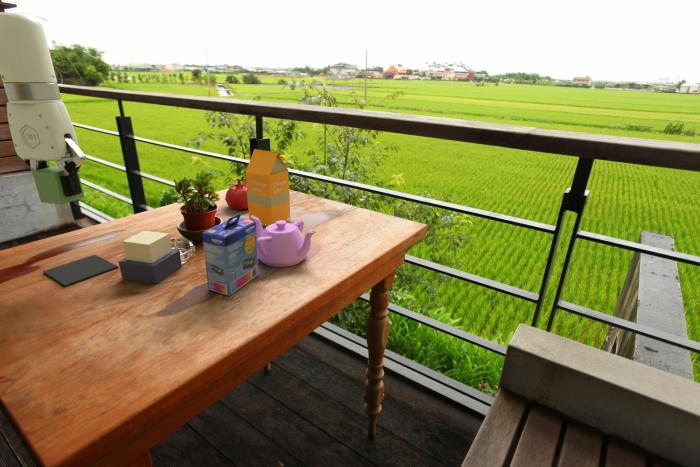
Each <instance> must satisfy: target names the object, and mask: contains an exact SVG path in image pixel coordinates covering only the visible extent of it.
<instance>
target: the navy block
mask: <svg viewBox="0 0 700 467" xmlns="http://www.w3.org/2000/svg"><path fill="white" fill-rule="evenodd" d="M117 263H118V267H119V271H120V275H121V279H122V280H126V281H132V282H139V283H146V284H151V285H158V284H159V283H161V282H162V281H164V280H165V279H167V278H168V277H170V276H171V275H173V274H174V273H176V272H177V271H178V270H180V269H181V268H183V263H182V257H181V251H180V249H175V248H172V252H170V253H168V254H167V255H165V256H163V257H162V258H160V259H159V260H157V261H155V262H154V263H146V262H139V261H132V260H126V256H125V257H124V258H122V259H119V260H118V261H117Z"/></svg>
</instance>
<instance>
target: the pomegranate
mask: <svg viewBox="0 0 700 467" xmlns="http://www.w3.org/2000/svg"><path fill="white" fill-rule="evenodd" d="M227 186H228V190H226V193H225V196H224V200H225V202H226V204H227V206H228V207H229V208H230V209H232V210H233V211H234V210H235V211H242V210H241V209H244V210H243V211H245V210H249V208H248V199H247V184H246V180H245V181H243V182H242V180H241V178H237V179H236V184H234V183H229V184H227ZM229 186H230V187H229ZM247 208H248V209H247Z"/></svg>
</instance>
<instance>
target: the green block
mask: <svg viewBox="0 0 700 467" xmlns="http://www.w3.org/2000/svg"><path fill="white" fill-rule="evenodd" d="M31 174H32V177H33V180H34V183H35V187H36V190H37V193H38V194H37V195H38V197H39V200H40V203H43V204H53V205H54V204H55V205H65V204H68V203H71V202H75V201H77V200H78V201H79V200H81V199H84V198H86V196H85V193H84V189H83V184H82V181H81V177H80V172H79V173H77V174H78V178H79V182H80V186H81V190H82V193H80V194H77V195H74V196H71V197H66V196H65V194H64V190H63V187H62V183H61V179H60V176H63V175H62V173H61V171H60V169H59V167H58V165H55V166H49V168H45V169H40V170H36V171H32V172H31Z"/></svg>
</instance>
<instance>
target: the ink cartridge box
mask: <svg viewBox="0 0 700 467" xmlns="http://www.w3.org/2000/svg"><path fill="white" fill-rule="evenodd" d="M241 216H242V212H238V213H237V214H235V215H233V216H231V217H229V218H228V219H227V220H225V221H223V222H222V223H219V224H216V225H214V226H212V227H210V228H207V229H206V230H204V231H203V232H201V235H202V236H201V237H202V245H203V253H204V262H205V271H206V280H207V289H208V291H212V292H215V293H218V294H221V295H223V296H227V297H231V295H233V294H235V293H236V292H237V291H239V290H240V289H241V288H242V287H244V286H245V285H247V284H248V283H249V282H251V281H253V280H254V279H256V278H257V277H259V263H258V262H259V261H258V260H259V259H258V257H257V236H256V221H253V220H249V218H243V217H241Z"/></svg>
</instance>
